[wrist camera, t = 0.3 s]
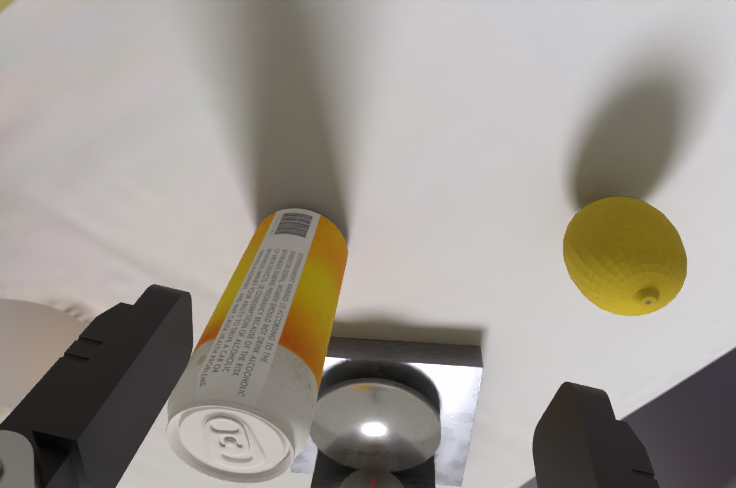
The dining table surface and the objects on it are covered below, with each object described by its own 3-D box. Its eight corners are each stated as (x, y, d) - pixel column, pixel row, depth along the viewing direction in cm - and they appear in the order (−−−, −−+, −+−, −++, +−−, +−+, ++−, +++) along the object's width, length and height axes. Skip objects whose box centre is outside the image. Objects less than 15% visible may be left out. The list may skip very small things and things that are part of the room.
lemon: (632, 155, 27) (699, 235, 21) (660, 229, 30) (728, 322, 23) (535, 199, 29) (568, 284, 23) (569, 265, 32) (607, 359, 25)
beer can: (267, 279, 35) (180, 486, 22) (248, 202, 31) (134, 396, 19) (353, 278, 34) (313, 492, 21) (343, 200, 30) (289, 400, 18)
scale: (279, 334, 37) (243, 439, 30) (480, 346, 36) (495, 459, 29) (296, 451, 46) (271, 556, 38) (459, 465, 45) (467, 576, 37)
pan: (305, 373, 36) (302, 384, 35) (446, 383, 35) (446, 394, 34) (314, 455, 41) (312, 466, 40) (435, 465, 40) (436, 477, 40)
